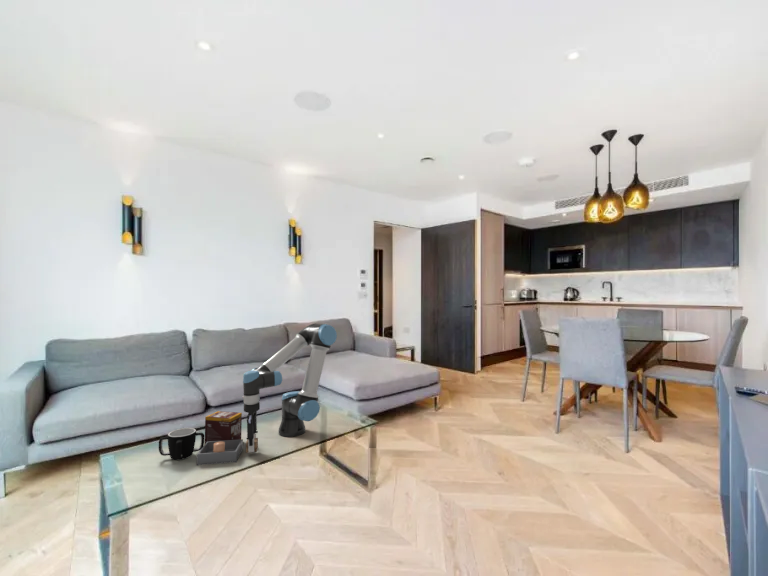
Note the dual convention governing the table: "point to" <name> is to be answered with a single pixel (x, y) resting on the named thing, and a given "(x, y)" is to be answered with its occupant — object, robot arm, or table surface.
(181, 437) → the mug
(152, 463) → the table surface
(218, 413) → the supplement box
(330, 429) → the table surface
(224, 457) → the tray
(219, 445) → the terracotta canister
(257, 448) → the walnut cube
